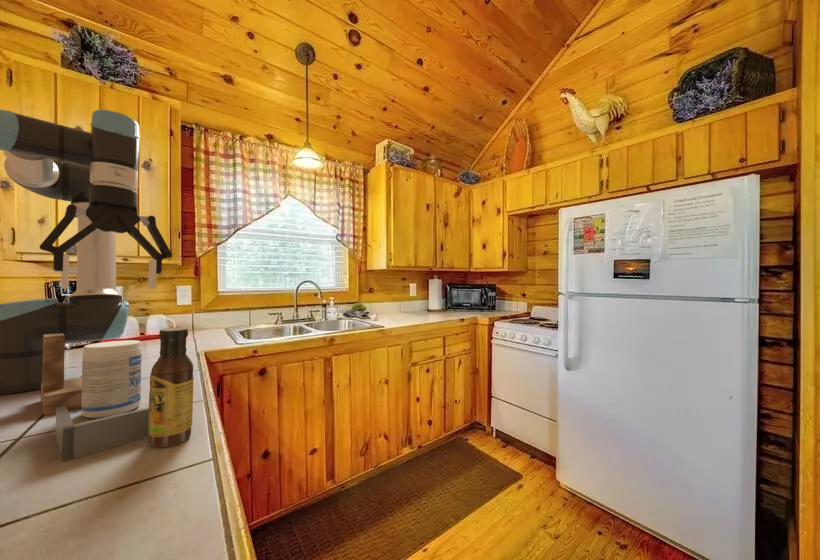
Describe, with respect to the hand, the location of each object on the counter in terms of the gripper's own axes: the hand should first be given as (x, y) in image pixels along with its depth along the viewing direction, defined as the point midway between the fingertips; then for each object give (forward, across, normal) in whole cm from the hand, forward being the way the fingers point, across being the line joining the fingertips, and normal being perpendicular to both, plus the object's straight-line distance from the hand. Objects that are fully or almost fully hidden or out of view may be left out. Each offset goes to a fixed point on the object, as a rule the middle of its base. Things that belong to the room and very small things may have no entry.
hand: (111, 288), depth 68 cm
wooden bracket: (+27, -3, +16) cm, 32 cm away
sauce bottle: (+26, +5, -24) cm, 36 cm away
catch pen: (+26, +1, -12) cm, 29 cm away
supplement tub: (+27, +1, +2) cm, 27 cm away
